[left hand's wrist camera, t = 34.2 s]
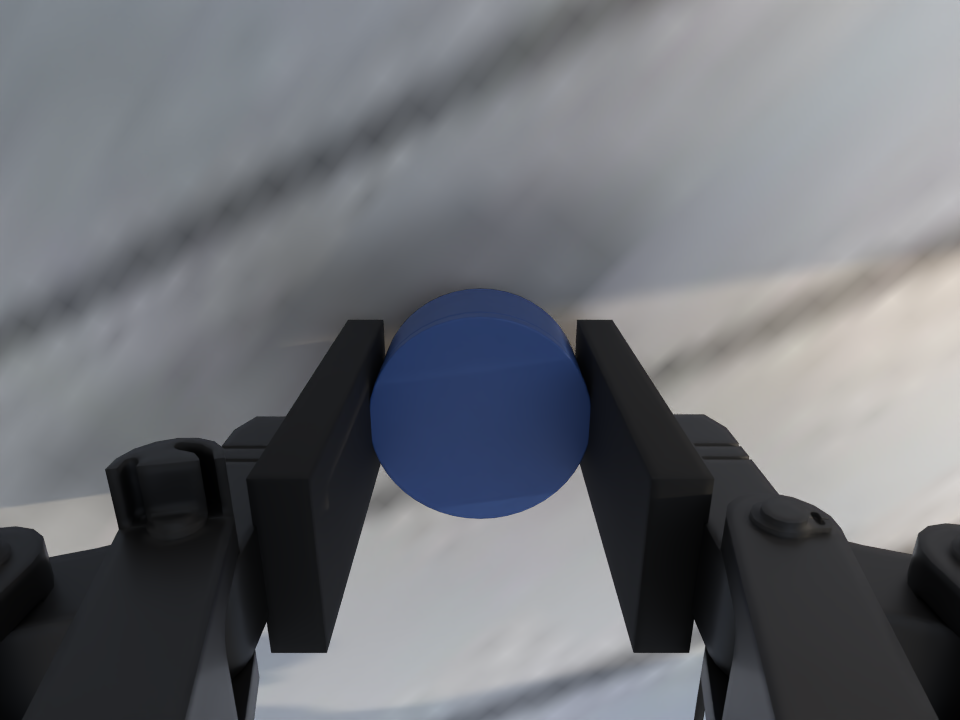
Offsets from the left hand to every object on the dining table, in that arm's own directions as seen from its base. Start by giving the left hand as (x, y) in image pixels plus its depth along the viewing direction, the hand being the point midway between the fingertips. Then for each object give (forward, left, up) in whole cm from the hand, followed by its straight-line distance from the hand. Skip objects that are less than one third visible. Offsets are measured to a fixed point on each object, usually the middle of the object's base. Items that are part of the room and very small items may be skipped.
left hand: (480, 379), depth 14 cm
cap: (0, 0, +2) cm, 2 cm away
